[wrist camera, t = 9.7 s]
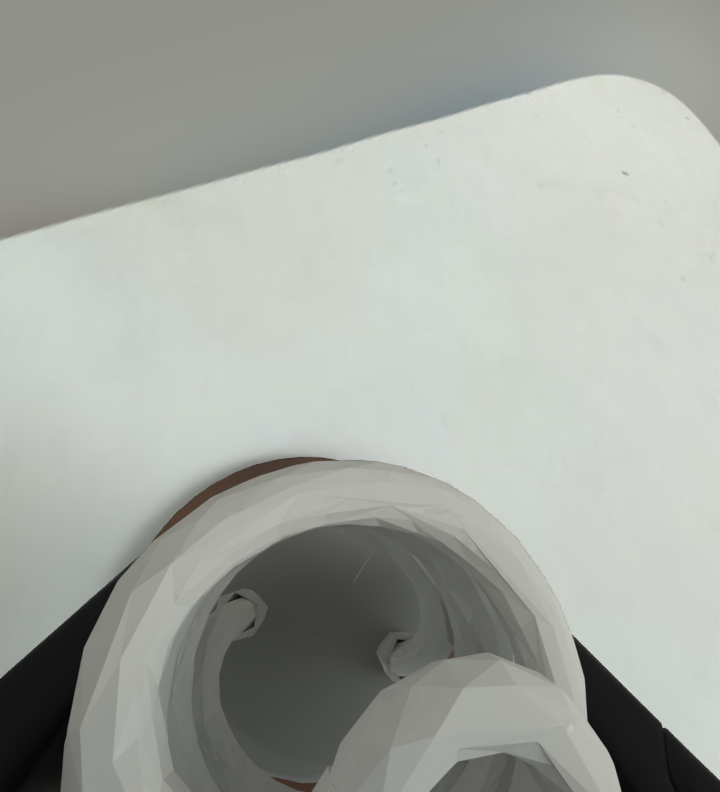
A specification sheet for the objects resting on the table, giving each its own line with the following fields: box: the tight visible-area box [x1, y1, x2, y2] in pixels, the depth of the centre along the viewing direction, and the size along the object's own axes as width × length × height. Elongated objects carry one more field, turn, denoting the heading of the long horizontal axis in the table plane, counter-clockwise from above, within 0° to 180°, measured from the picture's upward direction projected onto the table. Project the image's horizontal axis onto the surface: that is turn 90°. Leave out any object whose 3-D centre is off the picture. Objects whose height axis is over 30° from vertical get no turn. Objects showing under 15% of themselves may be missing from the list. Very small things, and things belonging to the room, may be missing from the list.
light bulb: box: [61, 460, 621, 792], centre depth 9 cm, size 6×6×12 cm
